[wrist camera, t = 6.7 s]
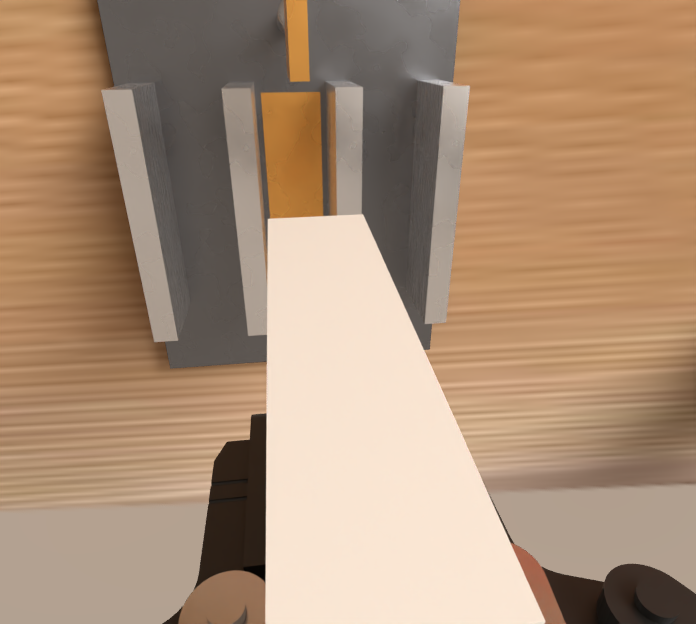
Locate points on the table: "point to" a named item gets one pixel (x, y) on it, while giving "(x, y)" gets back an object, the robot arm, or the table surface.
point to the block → (368, 453)
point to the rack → (280, 150)
